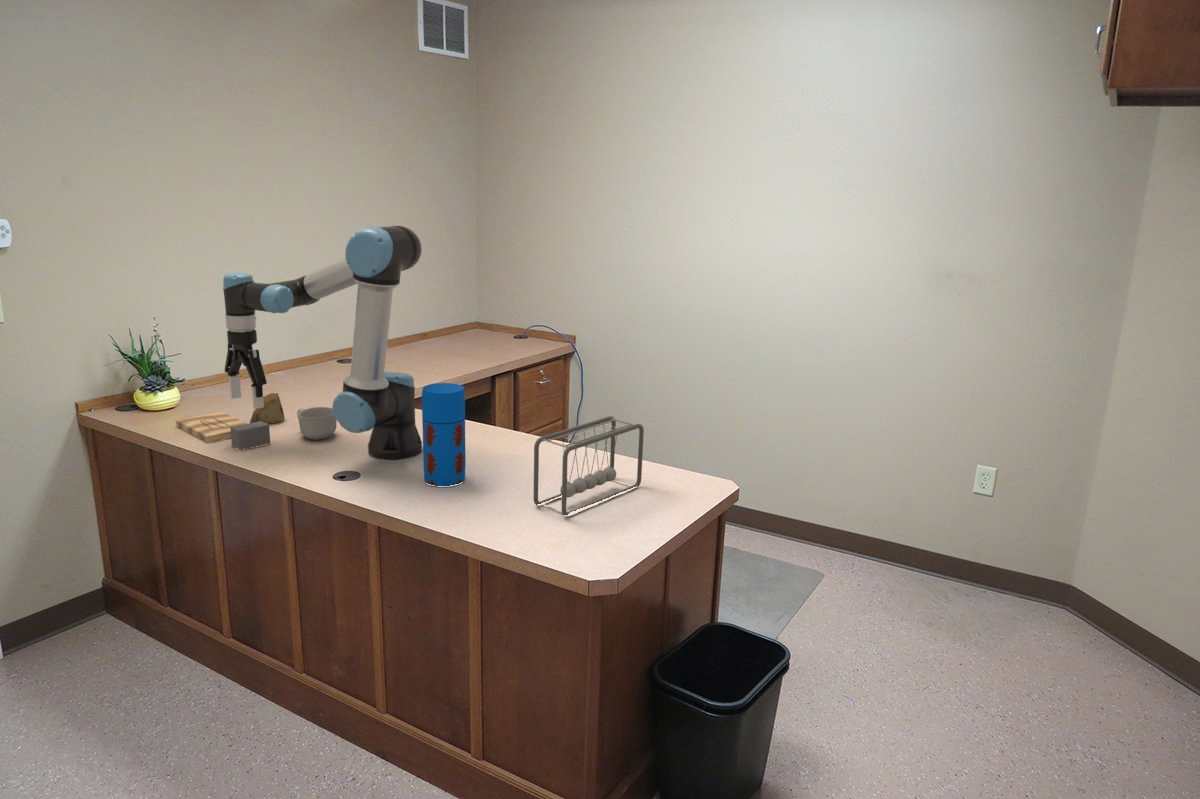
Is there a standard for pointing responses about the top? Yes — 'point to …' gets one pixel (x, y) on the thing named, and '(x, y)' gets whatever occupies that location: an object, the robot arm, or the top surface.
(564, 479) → the newton's cradle
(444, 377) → the top surface
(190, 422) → the board
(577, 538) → the top surface
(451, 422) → the thermos
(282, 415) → the rock
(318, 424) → the teacup
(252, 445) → the block
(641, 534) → the top surface
